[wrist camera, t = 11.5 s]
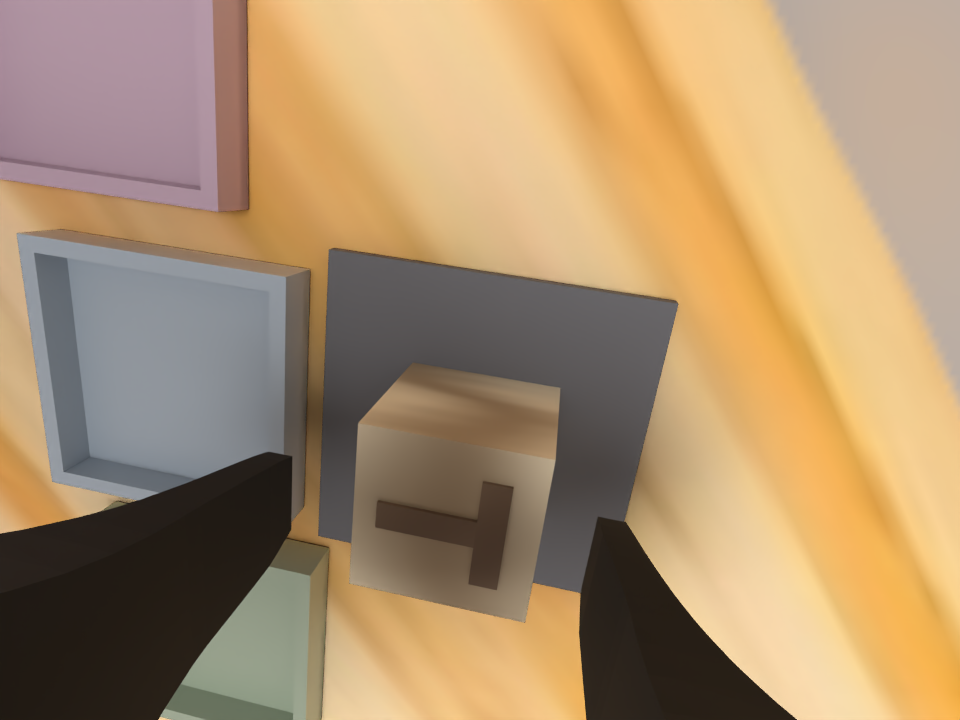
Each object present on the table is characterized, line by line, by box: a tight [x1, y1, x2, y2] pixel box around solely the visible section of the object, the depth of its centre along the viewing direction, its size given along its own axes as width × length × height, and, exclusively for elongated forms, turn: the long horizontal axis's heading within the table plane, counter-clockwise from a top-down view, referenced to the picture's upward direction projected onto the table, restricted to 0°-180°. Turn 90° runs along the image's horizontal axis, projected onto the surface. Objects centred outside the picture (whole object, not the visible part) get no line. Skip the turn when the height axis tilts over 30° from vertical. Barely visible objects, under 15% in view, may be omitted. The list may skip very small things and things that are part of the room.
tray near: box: [0, 0, 249, 212], centre depth 15 cm, size 8×8×2 cm
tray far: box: [103, 501, 329, 720], centre depth 21 cm, size 8×8×2 cm
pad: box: [318, 248, 678, 593], centre depth 17 cm, size 10×10×1 cm
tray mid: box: [17, 229, 310, 522], centre depth 18 cm, size 8×8×2 cm
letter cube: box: [349, 363, 560, 623], centre depth 15 cm, size 4×4×5 cm
